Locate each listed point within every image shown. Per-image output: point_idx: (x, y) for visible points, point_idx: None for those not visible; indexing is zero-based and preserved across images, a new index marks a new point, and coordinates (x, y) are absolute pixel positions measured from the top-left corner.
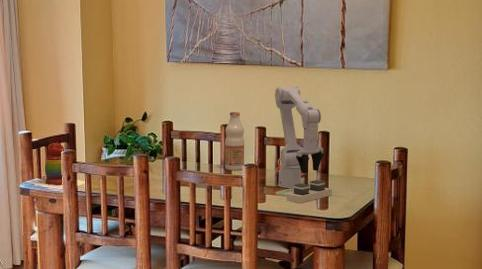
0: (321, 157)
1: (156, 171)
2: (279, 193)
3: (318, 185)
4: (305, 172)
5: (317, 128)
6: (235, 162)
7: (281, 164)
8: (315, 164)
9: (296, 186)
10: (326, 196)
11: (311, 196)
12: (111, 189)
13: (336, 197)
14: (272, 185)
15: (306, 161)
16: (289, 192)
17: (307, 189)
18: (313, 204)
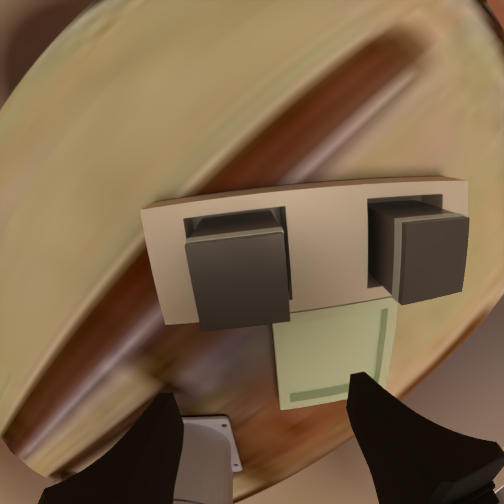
0: (90, 488)
1: None
2: (388, 368)
3: (279, 228)
4: (366, 374)
5: None
6: None
7: None
8: (166, 454)
9: (460, 267)
10: (205, 195)
11: (372, 182)
12: None
13: (142, 170)
14: (239, 480)
15: (442, 442)
16: (303, 383)
17: (405, 215)
18: (388, 132)
